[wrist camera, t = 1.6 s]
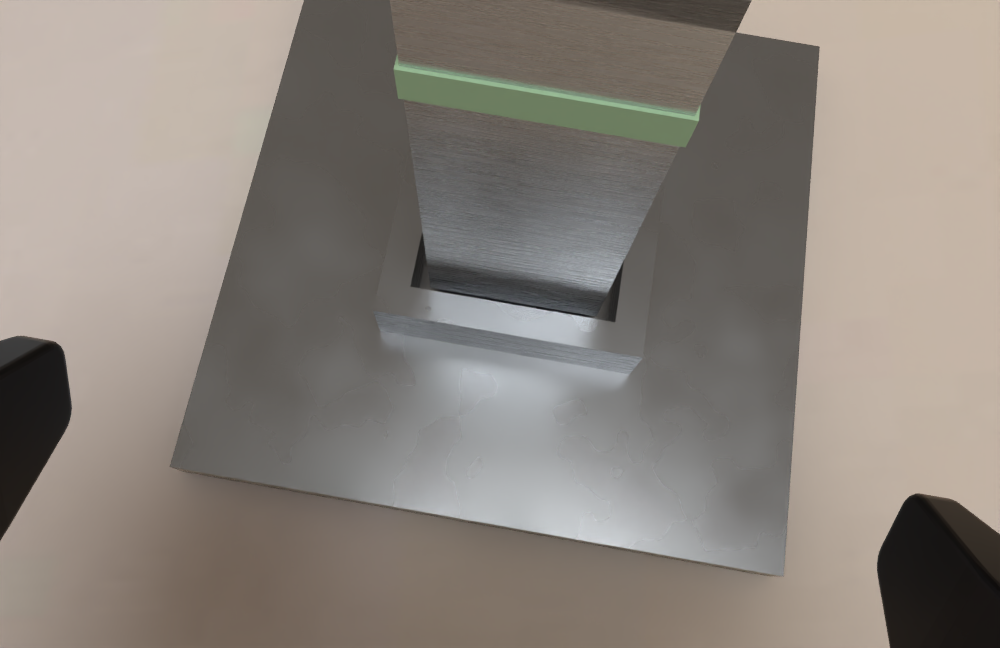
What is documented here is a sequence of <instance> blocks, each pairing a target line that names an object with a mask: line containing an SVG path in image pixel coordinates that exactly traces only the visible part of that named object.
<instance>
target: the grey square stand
mask: <svg viewBox="0 0 1000 648" xmlns="http://www.w3.org/2000/svg"><path fill="white" fill-rule="evenodd" d="M396 57H397V48H396V41H395V34H394V27H393V20H392V13H391V6H390V0H304V3H303V6H302V10H301V13H300V17H299V20H298V23H297V27H296V30H295V34H294V37H293V41H292V44H291V48H290V51H289V55H288V58H287V62H286V65H285V69H284V72H283V76H282V79H281V83H280V86H279V89H278V93H277V96H276V100H275V103H274V107H273V110H272V114H271V117H270V121H269V124H268V128H267V131H266V135H265V138H264V142H263V145H262V148H261V152H260V155H259V159H258V162H257V166H256V169H255V173H254V176H253V180H252V183H251V187H250V190H249V194H248V197H247V201H246V204H245V208H244V211H243V214H242V218H241V221H240V225H239V228H238V232H237V235H236V239H235V242H234V246H233V249H232V253H231V256H230V260H229V263H228V267H227V270H226V273H225V277H224V280H223V284H222V287H221V291H220V294H219V298H218V301H217V305H216V308H215V312H214V315H213V319H212V322H211V326H210V329H209V333H208V336H207V339H206V343H205V346H204V350H203V353H202V357H201V360H200V364H199V367H198V371H197V374H196V378H195V381H194V385H193V388H192V392H191V395H190V398H189V402H188V405H187V409H186V412H185V416H184V419H183V423H182V426H181V430H180V433H179V437H178V440H177V444H176V447H175V451H174V454H173V458H172V461H171V464H170V467H172V468H175V469H178V470H181V471H185V472H190V473H196V474H202V475H207V476H213V477H218V478H224V479H230V480H235V481H241V482H246V483H252V484H258V485H263V486H269V487H274V488H280V489H285V490H291V491H297V492H302V493H308V494H313V495H319V496H325V497H330V498H336V499H341V500H347V501H353V502H358V503H364V504H369V505H375V506H380V507H386V508H392V509H397V510H403V511H408V512H414V513H420V514H425V515H431V516H436V517H442V518H447V519H453V520H459V521H464V522H470V523H475V524H481V525H487V526H492V527H498V528H503V529H509V530H515V531H520V532H526V533H531V534H537V535H542V536H548V537H554V538H559V539H565V540H570V541H576V542H582V543H587V544H593V545H598V546H604V547H610V548H615V549H621V550H626V551H632V552H637V553H643V554H649V555H654V556H660V557H665V558H671V559H677V560H682V561H688V562H693V563H699V564H704V565H710V566H716V567H721V568H727V569H732V570H738V571H744V572H749V573H755V574H760V575H766V576H784V563H785V548H786V533H787V519H788V504H789V489H790V474H791V459H792V445H793V430H794V415H795V400H796V386H797V371H798V356H799V341H800V326H801V312H802V297H803V282H804V267H805V253H806V238H807V223H808V208H809V194H810V179H811V164H812V149H813V134H814V120H815V105H816V90H817V75H818V61H819V46H813V45H807V44H801V43H795V42H789V41H783V40H777V39H771V38H765V37H759V36H753V35H747V34H741V33H735V35H734V37H733V39H732V41H731V43H730V45H729V47H728V49H727V51H726V53H725V56H724V58H723V60H722V62H721V64H720V66H719V68H718V70H717V72H716V74H715V76H714V78H713V80H712V82H711V84H710V86H709V88H708V90H707V92H706V94H705V96H704V98H703V100H702V102H701V106H700V115H699V122H698V124H697V126H696V128H695V130H694V132H693V134H692V136H691V138H690V140H689V142H688V143H687V145H686V147H679V149H678V151H677V153H676V155H675V157H674V159H673V161H672V163H671V165H670V167H669V169H668V172H667V174H666V176H665V178H664V180H663V182H662V184H661V186H660V188H659V190H658V192H657V194H656V196H655V198H654V200H653V202H652V204H651V206H650V208H649V210H648V212H647V214H646V216H645V218H644V220H643V222H642V224H641V226H640V228H639V231H638V233H637V235H636V237H635V239H634V241H633V243H632V245H631V247H630V249H629V251H628V253H627V255H626V257H625V259H624V261H623V263H622V265H621V267H620V269H619V271H618V273H617V275H616V277H615V279H614V281H613V283H612V285H611V287H610V290H609V292H608V294H607V296H606V298H605V300H604V302H603V304H602V306H601V308H600V310H599V312H598V314H597V316H590V315H585V314H579V313H573V312H567V311H562V310H556V309H550V308H544V307H539V306H533V305H527V304H521V303H516V302H510V301H504V300H498V299H493V298H487V297H481V296H476V295H470V294H464V293H458V292H453V291H447V290H441V289H435V288H431V287H430V280H429V273H428V266H427V259H426V252H425V245H424V238H423V231H422V224H421V217H420V210H419V203H418V196H417V189H416V182H415V175H414V168H413V161H412V154H411V146H410V139H409V132H408V125H407V118H406V111H405V104H404V99H398V95H397V88H396V82H395V75H394V65H395V61H396Z"/></svg>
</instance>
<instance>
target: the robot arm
mask: <svg viewBox="0 0 1000 648" xmlns="http://www.w3.org/2000/svg"><path fill="white" fill-rule="evenodd" d="M71 409H72V405H71V397H70V389H69V382H68V375H67V367H66V360H65V355H64V351H63V349H62V348H61V346H60V345H59V344H57V343H56V342H54V341H49V340H43V339H38V338H32V337H27V336H15V337H12V338H8V339H5V340H2V341H0V540H1V539H2V537H3V535H4V534H5V532H6V531H7V529H8V528H9V526H10V524H11V522H12V521H13V519H14V517H15V516H16V514H17V512H18V511H19V509H20V507H21V505H22V504H23V502H24V500H25V499H26V497H27V495H28V494H29V492H30V490H31V488H32V487H33V485H34V483H35V482H36V480H37V478H38V476H39V475H40V473H41V471H42V470H43V468H44V466H45V465H46V463H47V461H48V459H49V458H50V456H51V454H52V453H53V451H54V449H55V448H56V446H57V444H58V442H59V441H60V439H61V437H62V436H63V434H64V432H65V430H66V428H67V426H68V424H69V421H70V417H71ZM877 573H878V579H879V585H880V591H881V597H882V603H883V609H884V615H885V620H886V626H887V632H888V638H889V644H890V648H1000V534H999V533H997V532H996V531H995V530H993V529H992V528H991V527H989V526H988V525H987V524H986V523H984V522H983V521H982V520H980V519H979V518H978V517H976V516H975V515H974V514H972V513H971V512H970V511H968V510H967V509H966V508H965V507H963V506H962V505H961V504H959V503H958V502H956V501H954V500H952V499H948V498H942V497H936V496H931V495H925V494H914V495H911V496H909V497H908V498H907V499H906V500H905V502H904V503H903V505H902V507H901V509H900V511H899V513H898V515H897V517H896V519H895V521H894V523H893V525H892V527H891V529H890V531H889V533H888V535H887V537H886V539H885V541H884V543H883V545H882V547H881V549H880V552H879V555H878V561H877Z"/></svg>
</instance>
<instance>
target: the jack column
mask: <svg viewBox="0 0 1000 648" xmlns="http://www.w3.org/2000/svg"><path fill="white" fill-rule="evenodd" d="M750 3H751V0H390V6H391V13H392V20H393V27H394V34H395V41H396V48H397V57H396V61H395V65H394V75H395V82H396V88H397V95H398V99H404V104H405V111H406V118H407V125H408V132H409V139H410V146H411V154H412V161H413V168H414V175H415V182H416V189H417V196H418V203H419V210H420V217H421V224H422V231H423V238H424V245H425V252H426V259H427V266H428V273H429V280H430V287H431V288H435V289H441V290H447V291H453V292H458V293H464V294H470V295H476V296H481V297H487V298H493V299H498V300H504V301H510V302H516V303H521V304H527V305H533V306H539V307H544V308H550V309H556V310H562V311H567V312H573V313H579V314H585V315H590V316H597V314H598V312H599V310H600V308H601V306H602V304H603V302H604V300H605V298H606V296H607V294H608V292H609V290H610V287H611V285H612V283H613V281H614V279H615V277H616V275H617V273H618V271H619V269H620V267H621V265H622V263H623V261H624V259H625V257H626V255H627V253H628V251H629V249H630V247H631V245H632V243H633V241H634V239H635V237H636V235H637V233H638V231H639V228H640V226H641V224H642V222H643V220H644V218H645V216H646V214H647V212H648V210H649V208H650V206H651V204H652V202H653V200H654V198H655V196H656V194H657V192H658V190H659V188H660V186H661V184H662V182H663V180H664V178H665V176H666V174H667V172H668V169H669V167H670V165H671V163H672V161H673V159H674V157H675V155H676V153H677V151H678V149H679V147H686V145H687V143H688V142H689V140H690V138H691V136H692V134H693V132H694V130H695V128H696V126H697V124H698V122H699V115H700V106H701V102H702V100H703V98H704V96H705V94H706V92H707V90H708V88H709V86H710V84H711V82H712V80H713V78H714V76H715V74H716V72H717V70H718V68H719V66H720V64H721V62H722V60H723V58H724V56H725V53H726V51H727V49H728V47H729V45H730V43H731V41H732V39H733V37H734V35H735V33H736V31H737V29H738V27H739V25H740V23H741V21H742V19H743V17H744V15H745V13H746V11H747V9H748V7H749V5H750Z"/></svg>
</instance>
